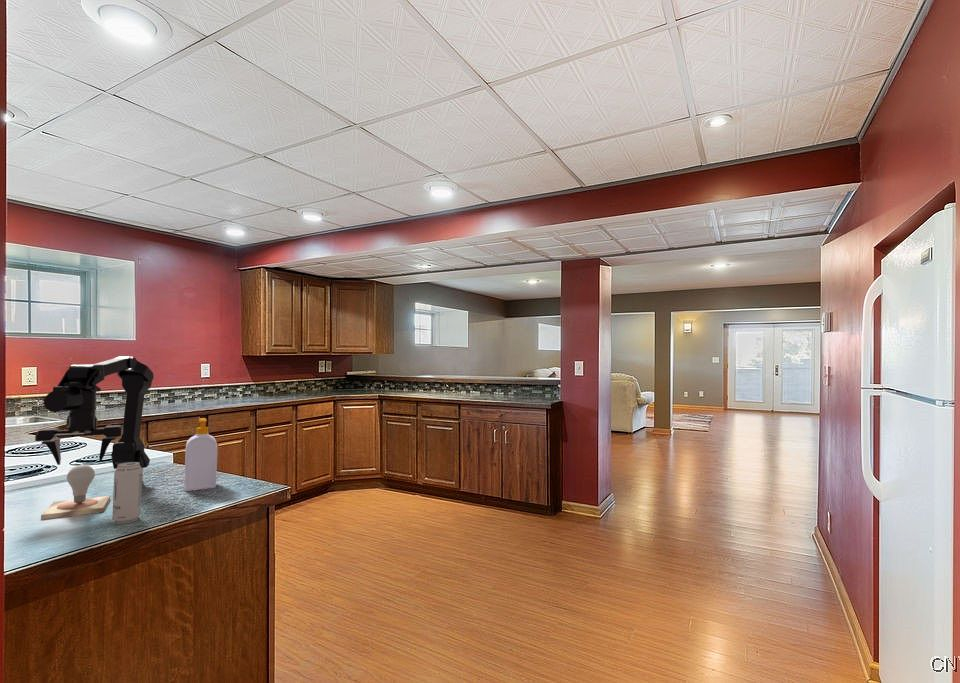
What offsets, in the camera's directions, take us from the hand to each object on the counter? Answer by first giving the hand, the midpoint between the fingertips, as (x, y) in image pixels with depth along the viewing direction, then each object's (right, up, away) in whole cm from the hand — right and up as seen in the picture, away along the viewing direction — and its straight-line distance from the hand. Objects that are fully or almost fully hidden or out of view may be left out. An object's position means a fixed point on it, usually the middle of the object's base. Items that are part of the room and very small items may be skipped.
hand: (80, 463), depth 135 cm
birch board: (0, -13, -1) cm, 13 cm away
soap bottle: (+20, -14, +23) cm, 34 cm away
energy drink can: (+20, -13, -9) cm, 26 cm away
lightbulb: (0, -12, 0) cm, 12 cm away
